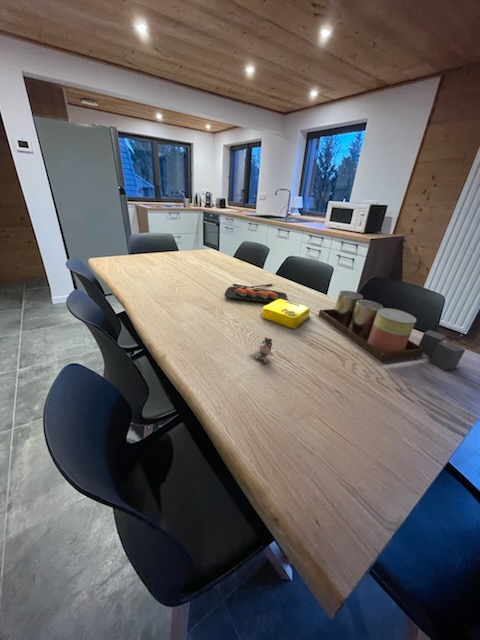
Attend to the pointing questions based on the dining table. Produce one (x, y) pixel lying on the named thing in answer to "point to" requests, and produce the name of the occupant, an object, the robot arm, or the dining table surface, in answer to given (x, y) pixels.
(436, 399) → the dining table surface
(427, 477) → the dining table surface
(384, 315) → the canned food
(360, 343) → the tray
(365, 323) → the tin
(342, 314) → the tin
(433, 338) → the grey block
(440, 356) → the grey block
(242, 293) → the sushi plate
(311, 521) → the dining table surface
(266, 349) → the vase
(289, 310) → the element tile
